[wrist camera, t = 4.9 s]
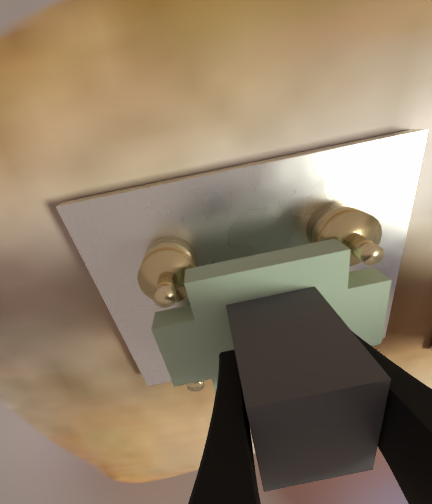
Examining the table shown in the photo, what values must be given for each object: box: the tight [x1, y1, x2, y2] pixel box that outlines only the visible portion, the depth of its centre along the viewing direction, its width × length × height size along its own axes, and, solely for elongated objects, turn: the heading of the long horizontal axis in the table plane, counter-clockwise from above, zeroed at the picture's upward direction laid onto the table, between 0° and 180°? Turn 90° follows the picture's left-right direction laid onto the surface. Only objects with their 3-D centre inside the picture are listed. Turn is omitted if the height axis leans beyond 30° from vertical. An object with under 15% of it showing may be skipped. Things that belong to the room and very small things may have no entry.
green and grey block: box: [151, 239, 392, 492], centre depth 10 cm, size 11×8×6 cm
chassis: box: [56, 129, 428, 391], centre depth 13 cm, size 18×14×4 cm
